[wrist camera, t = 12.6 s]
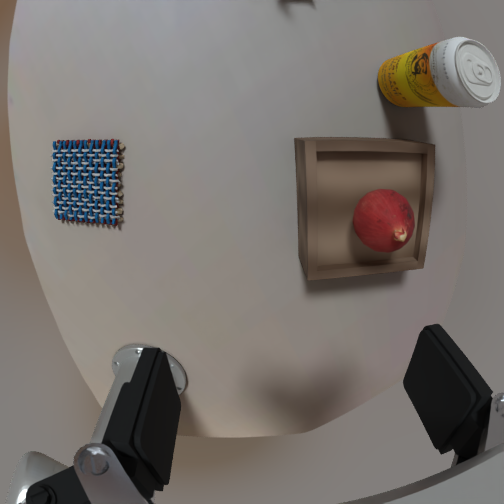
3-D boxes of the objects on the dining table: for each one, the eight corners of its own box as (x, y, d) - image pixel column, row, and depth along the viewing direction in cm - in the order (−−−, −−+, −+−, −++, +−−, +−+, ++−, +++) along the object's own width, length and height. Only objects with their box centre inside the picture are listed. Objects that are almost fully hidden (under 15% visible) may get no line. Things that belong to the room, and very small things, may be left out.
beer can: (373, 55, 27) (447, 24, 13) (417, 64, 27) (499, 48, 13) (375, 103, 29) (455, 99, 15) (419, 110, 29) (505, 115, 15)
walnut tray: (401, 247, 36) (423, 268, 31) (298, 255, 36) (307, 280, 31) (407, 139, 31) (435, 144, 25) (294, 137, 31) (304, 140, 25)
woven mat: (58, 217, 34) (51, 222, 32) (57, 139, 30) (48, 141, 28) (125, 224, 35) (119, 230, 33) (127, 138, 31) (120, 139, 29)
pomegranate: (375, 170, 27) (414, 186, 20) (403, 213, 29) (442, 239, 22) (332, 206, 29) (359, 232, 21) (363, 246, 31) (393, 282, 23)
